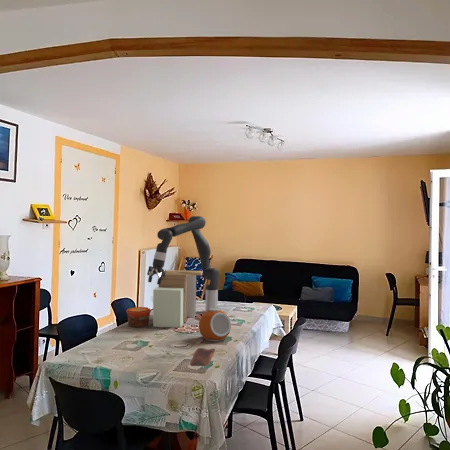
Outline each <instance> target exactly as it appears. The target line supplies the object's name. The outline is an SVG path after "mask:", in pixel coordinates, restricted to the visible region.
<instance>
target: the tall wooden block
mask: <svg viewBox="0 0 450 450" xmlns="http://www.w3.org/2000/svg"><path fill="white" fill-rule="evenodd" d="M158 287H159V288H183V324H186V323H187V322H188V321H189V317H186V299H187V275H165V278H164V279H162V280H161V284H160V285H158Z"/></svg>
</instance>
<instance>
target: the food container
mask: <svg viewBox="0 0 450 450" xmlns="http://www.w3.org/2000/svg"><path fill="white" fill-rule="evenodd" d="M125 312H126V316H127V322H128V324H127V325H128V327H130V328H134V329H138V328H139V329H140V328H145V327H148V326H149V325H150V323H149V322H150V316H151V312H152V310H151V308H150V307H147V306H146V307H145V306H143V307H142V306H136V307H129V308H127V309H126V311H125Z"/></svg>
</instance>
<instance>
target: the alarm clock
mask: <svg viewBox="0 0 450 450" xmlns="http://www.w3.org/2000/svg"><path fill="white" fill-rule="evenodd" d="M198 329H199V333H200V335H201V336H202V337H203V339H204V340H206V341H210V342H220V341H224V340H225V339H226V338H227V337H228V336H229V335H230V332H231V329H232V322H231V319H230V317H229V315H228V314H227V313H226V312H224V311H223V310H221V309H220V308H211V309H210V310H209V311H207V312H204V313H203V314H202V315H201V317H200V319H199V322H198Z"/></svg>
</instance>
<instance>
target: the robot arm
mask: <svg viewBox="0 0 450 450" xmlns="http://www.w3.org/2000/svg"><path fill="white" fill-rule="evenodd" d="M206 224H207V223H206V219H205V218H204V217H203V216H200V215H198V216H197V215H193V216H190V217H189V219H188V222H186V223H185V222H184V223H180V224H176V225H173V226H170V227H166V228H161V229H159V231H157V238H158V239H159V240H161V242H159V243H157V245H156V249H155V253H154V257H153V259H152V260H153V261H152V266H151V265H150V266H149V267H148V270H147V274H146V275H147V276H148V281H147V282H148V283H152V281H153V276H154V275H156V276H157V277H158V279H157V282H156V284H157V285H158V286H159V285H160V284H161V280H162V279H164V278H165V272H166V270H167V269H164V267H165V262H166V258H167V251H168V248H169V246H170V244H171V242H172V239H173V238H174V237H175V238H176V237H178V236H180V235H183V234H186V233H188V232H191V233H192V236H193V239H194V242H195V246H196V250H197V253H198V257H199V261H200V265H201V269H202V270H201V271H202V276H203V278H204V279H205V280H207V281H210V282H209V284H206V285H205V302H204V303H205V312H207V311H209V310H210V309H211V308H218V307H219V304H218V303H219V299H218V297H219V293H218V292H219V286H220V271H219V270H218V268H216V267H215V268H213V267H211V265H210V262H209V261H210V257H211V252H212V251H211V247H210V244H209V241H208V240H207V239H206V238H205V237H204V235H203V233H202V232H201V229H203V228H205V226H206ZM205 312H204V313H205Z"/></svg>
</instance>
